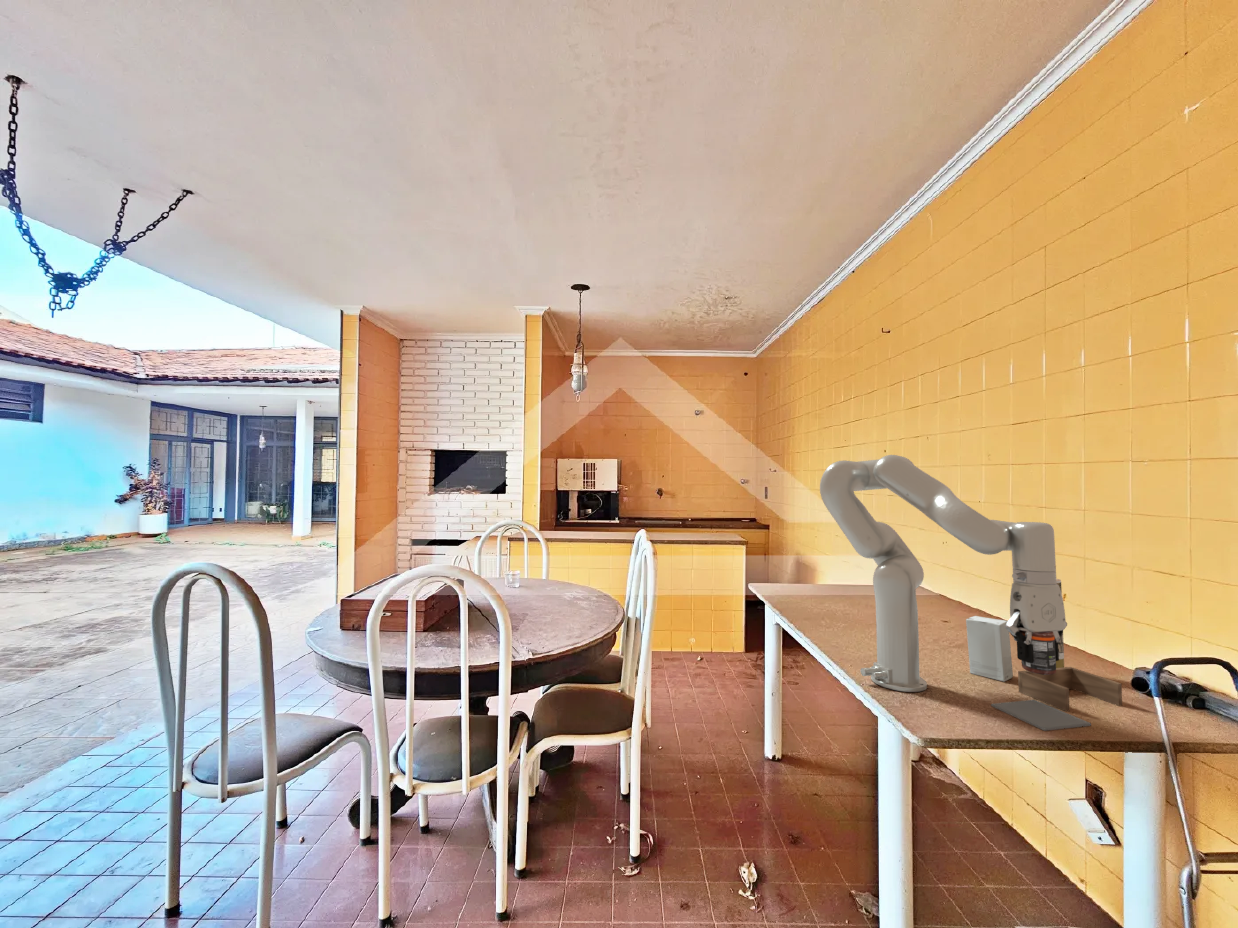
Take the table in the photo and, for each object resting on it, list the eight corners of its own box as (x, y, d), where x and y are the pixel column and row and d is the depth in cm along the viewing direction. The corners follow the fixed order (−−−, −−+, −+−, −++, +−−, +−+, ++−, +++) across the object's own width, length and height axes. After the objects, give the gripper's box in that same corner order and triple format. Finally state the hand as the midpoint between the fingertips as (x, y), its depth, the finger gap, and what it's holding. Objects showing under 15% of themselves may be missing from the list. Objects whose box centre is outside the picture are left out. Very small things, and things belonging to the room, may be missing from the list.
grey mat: (1044, 730, 104) (1044, 728, 104) (991, 705, 116) (991, 703, 116) (1090, 725, 107) (1090, 723, 107) (1034, 701, 118) (1034, 699, 118)
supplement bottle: (1024, 664, 116) (1022, 614, 116) (1059, 671, 111) (1056, 619, 112) (1018, 670, 112) (1016, 618, 113) (1053, 677, 107) (1051, 624, 108)
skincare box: (1013, 678, 133) (1011, 620, 134) (1003, 682, 130) (1002, 624, 131) (977, 668, 140) (975, 614, 141) (967, 672, 137) (965, 617, 138)
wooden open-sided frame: (1066, 711, 113) (1065, 688, 114) (1018, 691, 124) (1017, 671, 124) (1122, 705, 116) (1121, 683, 117) (1071, 686, 127) (1070, 666, 128)
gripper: (1018, 582, 107) (1022, 668, 107) (1083, 579, 111) (1088, 662, 110) (986, 576, 115) (989, 657, 114) (1048, 573, 118) (1052, 652, 117)
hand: (1038, 659), depth 112 cm, fingers closed on supplement bottle, 6 cm apart
